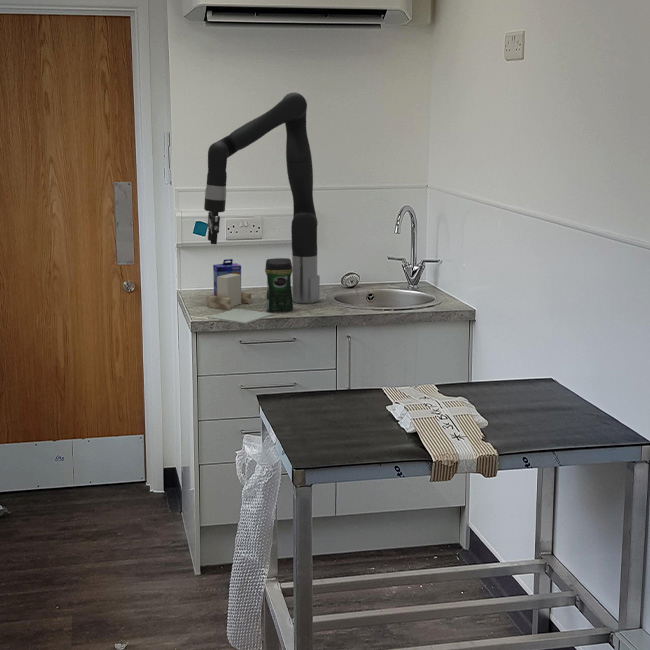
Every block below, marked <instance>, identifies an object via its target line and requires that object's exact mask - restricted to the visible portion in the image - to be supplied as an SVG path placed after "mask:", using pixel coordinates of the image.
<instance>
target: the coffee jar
mask: <svg viewBox="0 0 650 650" xmlns="http://www.w3.org/2000/svg"><path fill="white" fill-rule="evenodd" d="M264 270H265V271H264V272H265V274H266V278H267V279H266V282H267V283H266V285H267V287H266V296H265V297H266V299H265V300H266V302H265V310H266V311H267V312H271V313H273V312H274V313H282V312H283V311H284V312H290V311H292V310H294V302H293V291H292V279H291V277H292V260H291V259H290V258H287V257H285V258H283V257H282V258H281V257H280V258H279V257H277V258H267V259H266V261H265V267H264Z"/></svg>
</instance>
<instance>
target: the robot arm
mask: <svg viewBox="0 0 650 650" xmlns="http://www.w3.org/2000/svg"><path fill="white" fill-rule="evenodd" d="M307 110H308V102H307V100H306V98H305V97H304V96H303V94H300V93H299V92H290V93H287V94H286V95H285V96H284V97H283V99H281V100H280V101H279V102H278V103H277V104H276V105H274V106H273V107H272V108H271V109H269V110H267V111H266V112H265V113H263V114H261V115H260V116H257V117H256V118H254V119H252V120H250V121H248V122H246V123H244V124H243V125H242V126H240V127H237V129H234V130H233V131H232V132H231V133H230V134H228V135H226V136H225V137H223V138H221V139H220V140H217V141H215V142H213V143H212V144H211V145H210V146H209V148H208V150H207V151H208V152H207V174H206V185H205V191H204V205H203V206H204V207H203V210H204V211H206V212H208V213H207V214H208V215H207V224H206V225H207V232H208V234H207V240H208V241H210V244H211V245H217V244H218V234H219V232H220V222H221V215H220V216H219V214H220V213H224V212H225V211H226V203H227V202H226V201H227V179H228V178H227V177H228V176H227V162H228V158H230V157H232V156H233V155H235V154H236V153H237V152H238V151H241V150H244V149H245V148H247V147H249V146H250V145H252V144H254V143H255V142H256V141H258V140H259V139H261V138H262V137H264V136H265V135H266V134H268V133H269V132H271V131H273V130H274V129H276V128H278V127H279V126H281V125H283V124H285V125H284V126H285V130H286V131H285V132H286V141H285V142H286V143H285V144H286V146H285V161H286V172H287V173H286V174H287V178H288V183H289V188H290V191H291V194H292V202H293V203H292V204H293V206H292V207H293V216H292V221H291V225H290V226H291V227H290V228H291V231H290V232H291V255H292V256H291V257H292V258H291V259H292V260H291V264H292V274H291V277H292V279H291V291H292V299H293V303H297V304H313V303H317V302H319V301H321V300H320V298H321V297H320V296H321V295H320V292H321V291H320V288H321V287H320V285H321V284H320V275H318V218H317V214H316V209H315V204H314V203H315V202H314V197H313V195H314V194H313V193H314V190H313V189H314V173H313V171H314V170H313V157H312V153H311V152H312V151H311V146H310V142H309V137H308V132H307Z"/></svg>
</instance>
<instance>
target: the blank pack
mask: <svg viewBox="0 0 650 650" xmlns="http://www.w3.org/2000/svg"><path fill="white" fill-rule="evenodd" d="M241 292H242V274H241V275H240V274H226V275H222V276H218V277H217V297H223V298H230V299H231V308H232V306H233V307H236V306H235V305H237V306H239V305H238V304H240V305H242V303H241Z"/></svg>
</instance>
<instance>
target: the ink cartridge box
mask: <svg viewBox="0 0 650 650" xmlns="http://www.w3.org/2000/svg"><path fill="white" fill-rule="evenodd" d="M233 260H234V259H233V258H230V259H229V258H228V259H223V262H222V263H218V264H212V268H213V296H215V297H217V277H218V276H222V275H226V274H240V275H241V276H242V265H241V264H239V263H237V262H234V263H233Z"/></svg>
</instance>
